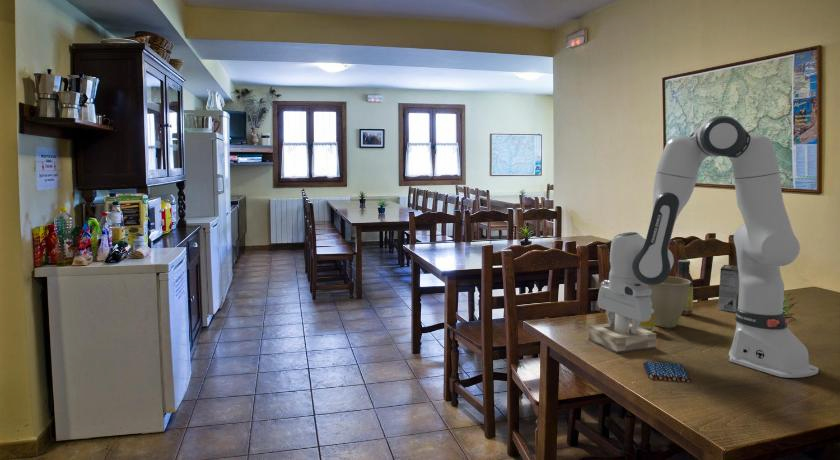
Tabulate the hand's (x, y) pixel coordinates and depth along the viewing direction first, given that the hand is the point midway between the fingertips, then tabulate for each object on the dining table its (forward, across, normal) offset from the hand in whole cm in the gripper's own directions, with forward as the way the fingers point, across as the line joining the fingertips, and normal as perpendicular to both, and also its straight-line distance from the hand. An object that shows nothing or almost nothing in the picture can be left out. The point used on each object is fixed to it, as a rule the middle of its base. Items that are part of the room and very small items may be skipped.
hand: (622, 328), depth 183 cm
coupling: (+4, 0, 0) cm, 4 cm away
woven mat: (+6, +25, -6) cm, 26 cm away
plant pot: (+5, -12, +29) cm, 31 cm away
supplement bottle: (+5, -9, +18) cm, 20 cm away
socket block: (+5, 0, 0) cm, 5 cm away
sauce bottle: (+5, -20, +46) cm, 51 cm away
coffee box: (+5, -19, +68) cm, 71 cm away
